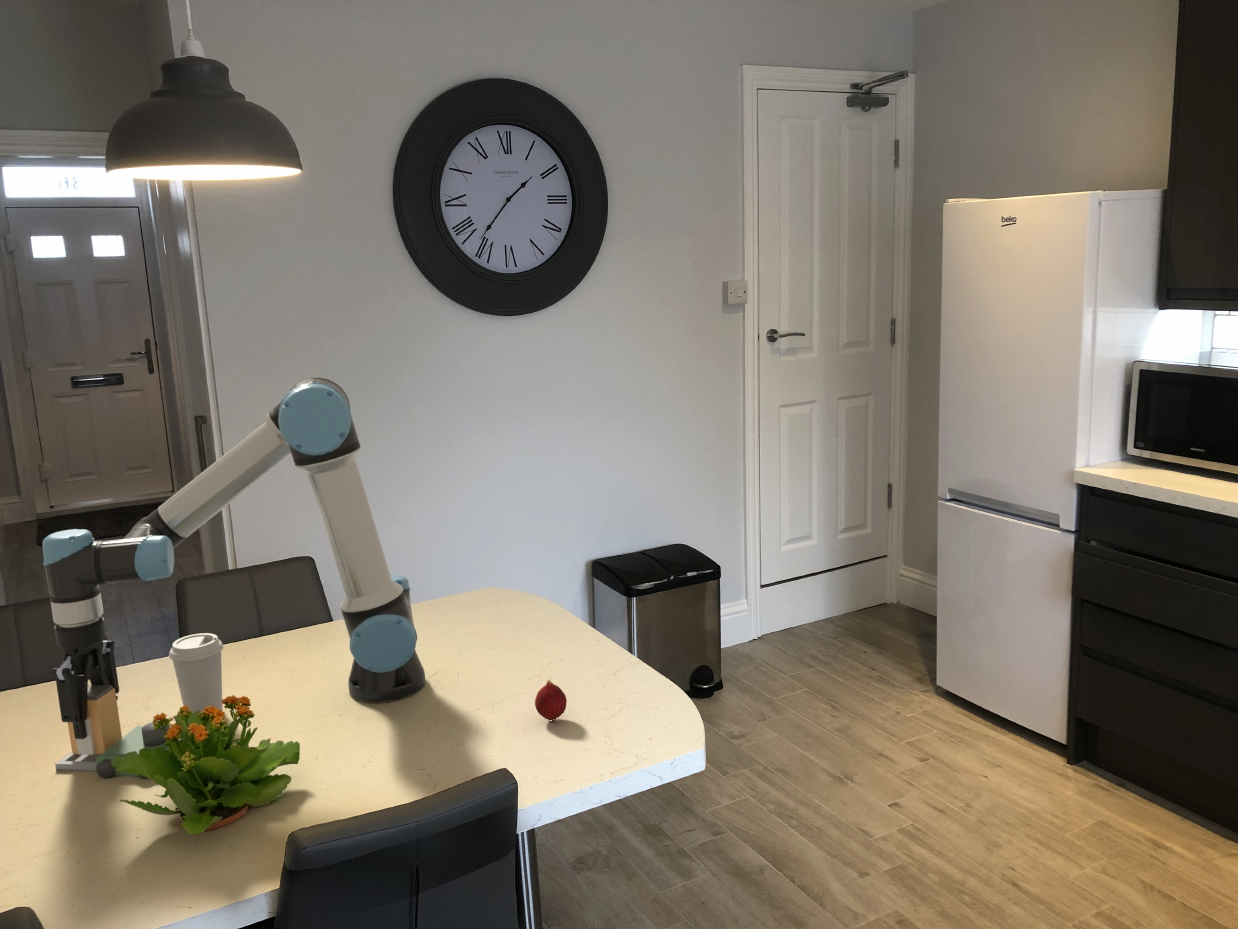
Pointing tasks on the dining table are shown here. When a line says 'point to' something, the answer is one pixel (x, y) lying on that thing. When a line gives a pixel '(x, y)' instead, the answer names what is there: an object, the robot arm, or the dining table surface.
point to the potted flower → (211, 766)
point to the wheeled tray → (116, 752)
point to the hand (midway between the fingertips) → (97, 745)
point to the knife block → (100, 718)
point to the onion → (550, 701)
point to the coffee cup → (198, 670)
